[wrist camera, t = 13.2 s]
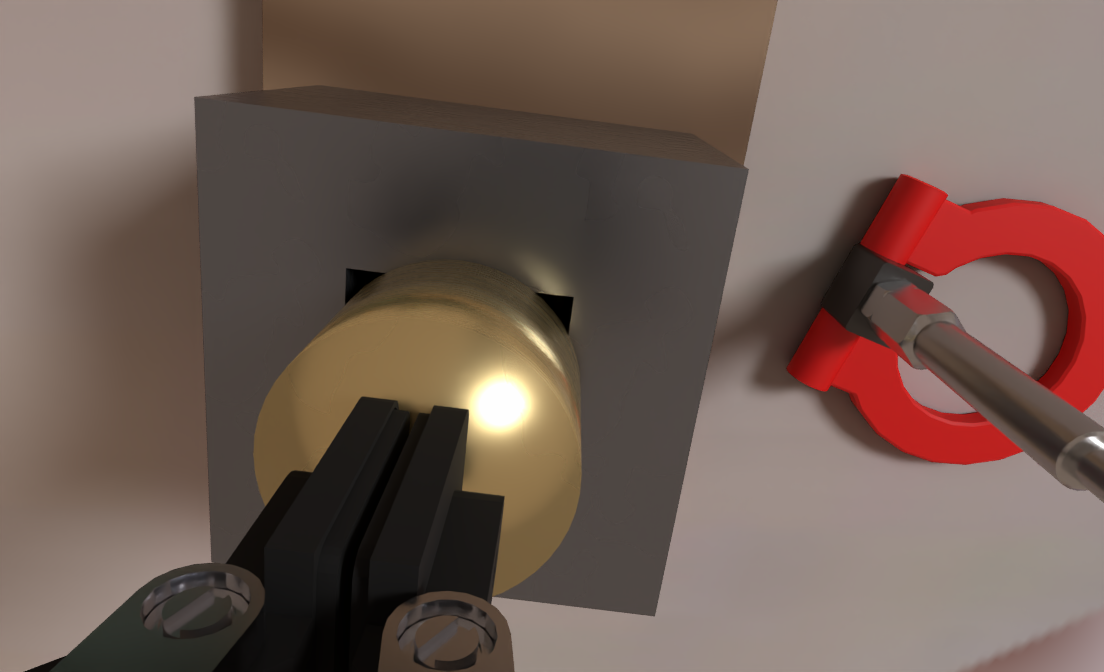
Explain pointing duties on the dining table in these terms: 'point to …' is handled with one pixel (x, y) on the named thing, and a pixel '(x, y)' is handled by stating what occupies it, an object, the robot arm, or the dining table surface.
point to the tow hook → (964, 335)
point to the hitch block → (484, 238)
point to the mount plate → (538, 58)
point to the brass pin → (447, 393)
